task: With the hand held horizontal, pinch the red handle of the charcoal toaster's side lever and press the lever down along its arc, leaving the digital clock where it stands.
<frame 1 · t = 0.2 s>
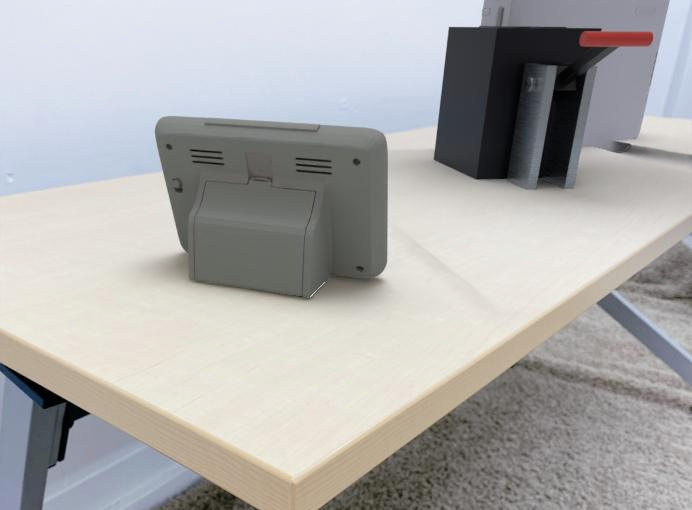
toaster lever: (581, 65, 65), point 13 cm above the table, hinge at 28.0°
game console: (548, 155, 97), on the table
digital clock: (269, 274, 51), on the table
lever bracket: (537, 196, 73), on the table
toaster: (497, 178, 81), on the table
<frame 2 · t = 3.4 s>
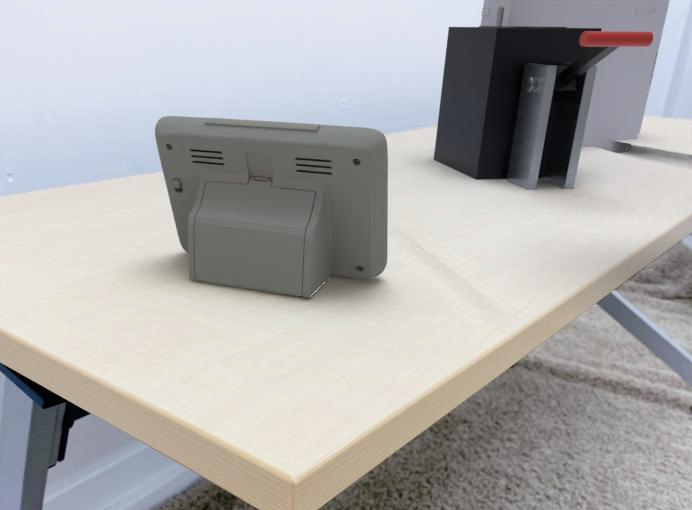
nothing on the table moved.
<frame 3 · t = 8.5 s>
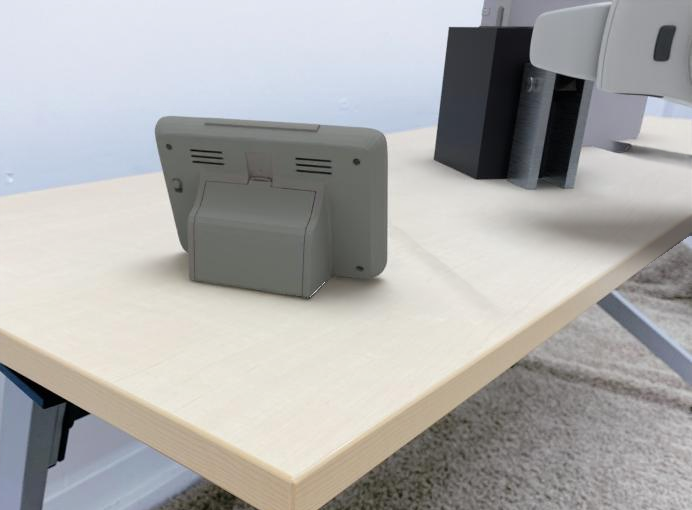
hand: (609, 38, 61), 15 cm above the table, tool horizontal, fingers closed on toaster lever, 6 cm apart
toaster lever: (581, 65, 65), point 13 cm above the table, hinge at 28.1°, touching gripper
everything else where it was.
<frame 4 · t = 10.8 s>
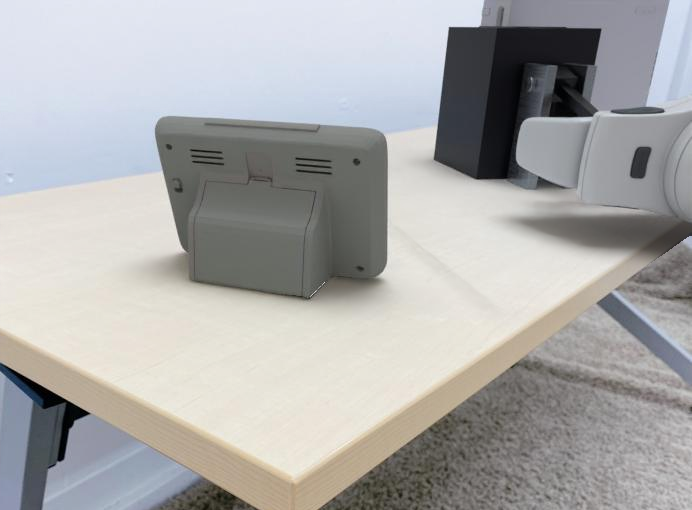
hand: (593, 129, 63), 8 cm above the table, tool horizontal, fingers closed on toaster lever, 6 cm apart
toaster lever: (576, 102, 66), point 10 cm above the table, hinge at -18.5°, touching gripper
everything else where it was.
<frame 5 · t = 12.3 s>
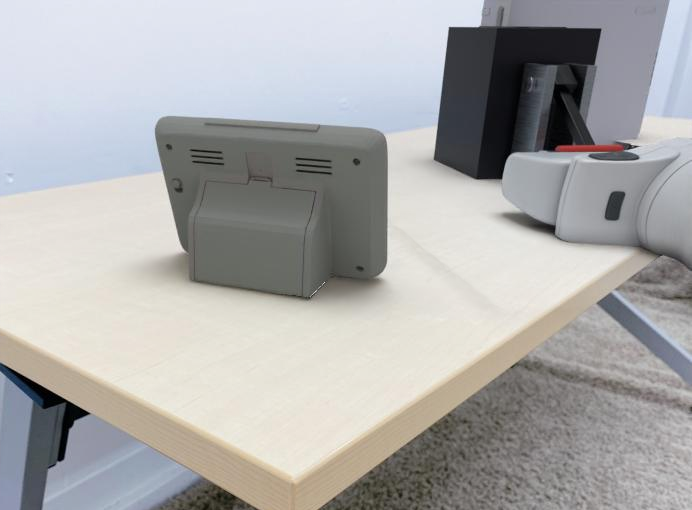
hand: (581, 159, 66), 5 cm above the table, tool horizontal, fingers closed on toaster lever, 6 cm apart
toaster lever: (570, 113, 67), point 9 cm above the table, hinge at -35.9°, touching gripper
everything else where it was.
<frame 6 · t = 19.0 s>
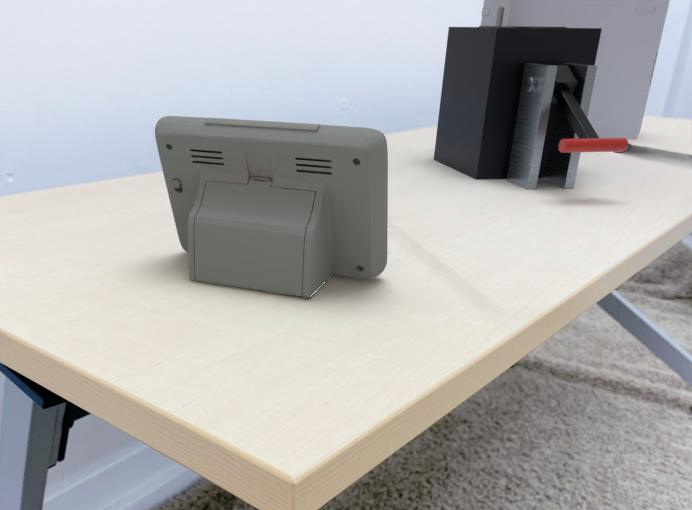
toaster lever: (572, 110, 67), point 9 cm above the table, hinge at -30.8°
everything else where it was.
at the end: toaster lever at -31° (first picture: +28°); digital clock moved 0.2 cm from its start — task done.
